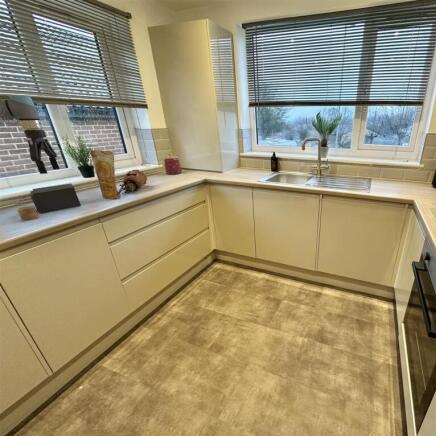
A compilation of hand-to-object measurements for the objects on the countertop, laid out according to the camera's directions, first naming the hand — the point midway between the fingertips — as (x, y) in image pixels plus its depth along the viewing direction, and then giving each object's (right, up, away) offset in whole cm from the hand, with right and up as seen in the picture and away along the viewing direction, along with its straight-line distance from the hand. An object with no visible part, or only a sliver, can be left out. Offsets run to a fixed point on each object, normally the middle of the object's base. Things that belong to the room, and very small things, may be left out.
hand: (50, 171), depth 129 cm
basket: (-1, -20, 0) cm, 20 cm away
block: (+3, -25, -12) cm, 28 cm away
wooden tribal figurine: (+23, -6, +34) cm, 41 cm away
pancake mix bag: (+19, -12, +20) cm, 30 cm away
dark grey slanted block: (+2, -19, +4) cm, 19 cm away
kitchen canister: (+25, +15, +86) cm, 90 cm away
